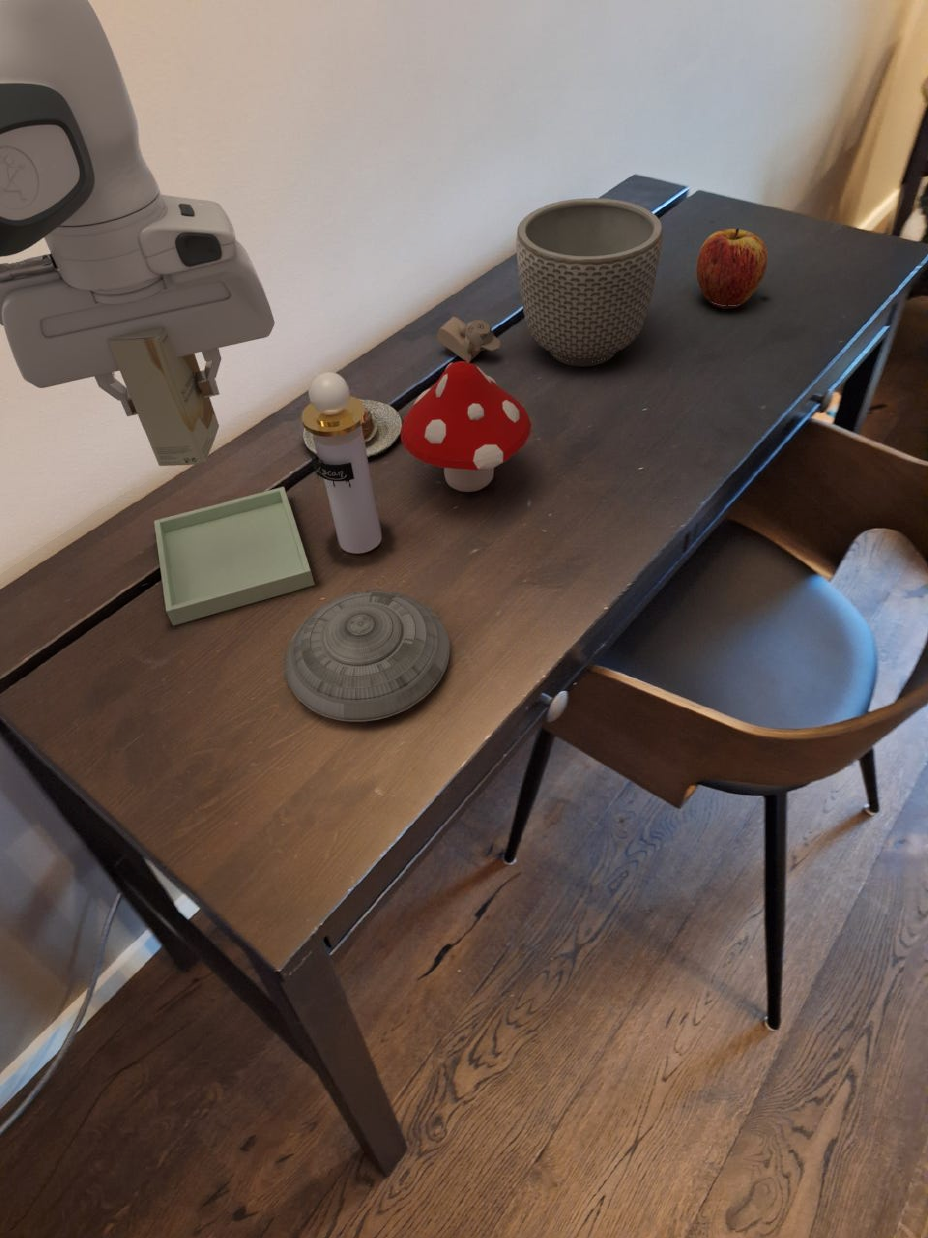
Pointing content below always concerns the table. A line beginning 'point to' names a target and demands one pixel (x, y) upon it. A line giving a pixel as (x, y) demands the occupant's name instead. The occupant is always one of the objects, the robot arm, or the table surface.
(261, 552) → the tray
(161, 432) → the cosmetic box
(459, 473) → the decorative mushroom
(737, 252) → the apple
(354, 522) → the perfume bottle
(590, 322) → the planter
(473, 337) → the toy character
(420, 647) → the flying saucer
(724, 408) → the table surface
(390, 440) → the grey speckled shallow bowl
